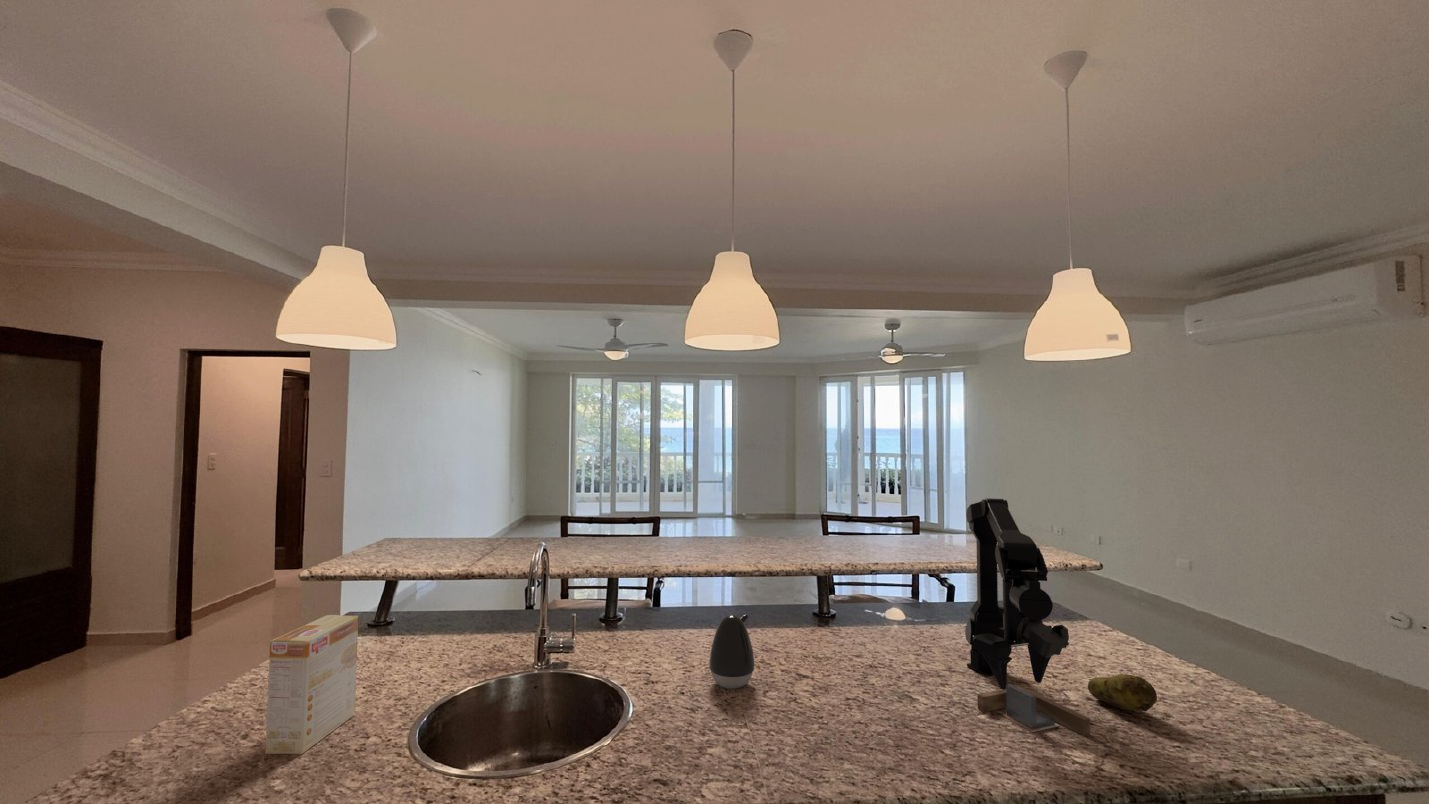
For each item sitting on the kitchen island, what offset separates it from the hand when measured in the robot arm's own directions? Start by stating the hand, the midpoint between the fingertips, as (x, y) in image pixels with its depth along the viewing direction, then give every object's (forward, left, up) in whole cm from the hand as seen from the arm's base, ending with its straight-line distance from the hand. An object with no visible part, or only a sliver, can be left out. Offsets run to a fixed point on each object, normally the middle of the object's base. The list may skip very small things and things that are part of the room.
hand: (1020, 685), depth 116 cm
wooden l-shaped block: (-3, 0, -7) cm, 8 cm away
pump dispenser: (+46, -36, -7) cm, 59 cm away
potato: (-25, +3, -7) cm, 26 cm away
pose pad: (-3, 0, -7) cm, 8 cm away
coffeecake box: (+128, -42, -7) cm, 135 cm away
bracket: (-2, 0, -7) cm, 7 cm away
